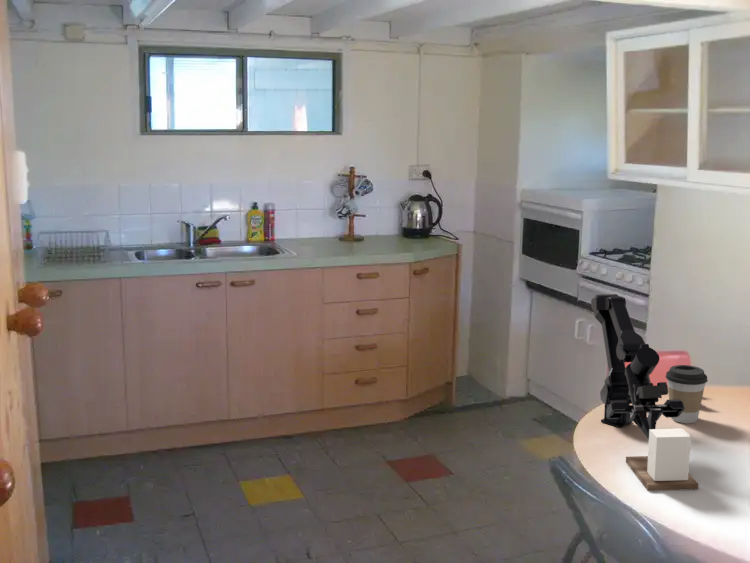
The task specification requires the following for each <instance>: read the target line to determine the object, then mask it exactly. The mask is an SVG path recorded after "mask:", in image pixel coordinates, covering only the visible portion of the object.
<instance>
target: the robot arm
mask: <svg viewBox="0 0 750 563" xmlns="http://www.w3.org/2000/svg"><path fill="white" fill-rule="evenodd" d="M590 303H591V304H590V306H591V309H592V311H593V313H594V318H595V319H596V320H597V321H598V322H599V323H600V325H601V330H602V335H603V342H604V348H605V349H604V350H605V354H606V362H607V363H606V364H607V368H608V373H607V375H606V377H605V379H604V385H603V386H602V388H601V390H600V393H599V394H600V400H601V402H602V403H603V404H604V410H603V411H604V412H603V413H604V414H603V415H604V417H603V418H602V419H601V420H600V422H601V423H603V424H604V423H605V424H608V425H610V426H614V427H617V428H622V427H624V426H627V425H628V424H631V423H634V424H636V426H637V427H638V428H639V429H640V430H641V432H642V433H643V435H644V436H645V437H646V438H647V440H648V441H649V429H656V428H657V427H656V426H657V422H658V421H659V419H660V417H661V416H663V417H665V418H666V419H667V418H668V419H669V418H670V419H671V417H679V416H680V414H681V413H682V412H683V411H684V409H685V407H684V403H683V402H682V401H681V400H680V399H674V400H669V399H666V400H665V402H664V403H663V404H656V403H658V402H659V400H660V399H662V398H663V396H666V395H669V392H668V382H664V381H661V382H657V384H656V385H654V383H653V382H651V379H650V375H651V374H652V373H653V372H654V371H655V368H656V367H657V366H658V364H659V362H660V354H658V352H657V351H656V350H655V349H653V348H651V347H650V345H649V343H645V340H644V338H643V337H642V335H640V334H639V333H637V332H636V330H635V328H634V324H633V323H632V320H631V317H630V313H629V312H628V309H627V300H626V297H624V296H620V295H618V294H616V293H611V294H610V293H609V294H608V293H607V294H600V293H599V294H595V295H594V297H593V298H591V301H590ZM625 363H629V364H627V366H626V365H625Z"/></svg>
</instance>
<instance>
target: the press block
mask: <svg viewBox="0 0 750 563" xmlns="http://www.w3.org/2000/svg"><path fill="white" fill-rule="evenodd" d="M691 437H692V436H691V435H690V434H689V433H688V432H686V431H685V429H683V428H655V429H649V440H648V451H647V452H648V453H647V456H648V465H647V472H648V474H649V475H650V476H651V477H652V479H653V480H654V481H676V480H688V473H690V471H689V470H690V469H689V468H690V455H691V454H690V453H691V441H692V440H691V439H692V438H691Z"/></svg>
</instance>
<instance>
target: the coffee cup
mask: <svg viewBox="0 0 750 563" xmlns="http://www.w3.org/2000/svg"><path fill="white" fill-rule="evenodd" d="M665 379H666V380H667V387H668V400H674V399H680V400H681V401H682V402H683V403H684V407H685V409H684V411H683V412H682V413H681V414H680V416H679V417H670V419H671V418H672V419H673V420H675V421H677V422H676V423H678V422H681V423H680V424H683V423H692V424H695V423H697V422H698V419H699V414H700V411H701V410H700V409H701V406H702V400H703V396H704V391H705V387H706V383H707V382H708V375H706V373H705V370H704V369H703V368H701V367H697V366H695V365H694V366H693V365H690V364H689V365H687V364H679V365H673V366H671V367H669V370H668V371H667V372H666V374H665ZM672 419H671V420H672ZM673 420H672V421H673ZM675 421H674V422H675Z"/></svg>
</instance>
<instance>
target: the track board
mask: <svg viewBox="0 0 750 563" xmlns="http://www.w3.org/2000/svg"><path fill="white" fill-rule="evenodd" d="M625 463H626V464H627V466H628V467H629V468H630V470H631V471H632V473H633V474H634V475H635V476H636V477H637V479H638V480H639V482H640V483H641V484H642V485H643V487H644V488H645V489H646V491H648V492H649V491H651V492H652V491H676V490H677V491H681V490H680V489H691V490H699V483H698V481H697V480H696V479H695V478H694V477H693V476H692V475H691V473H690V472H688V480H676V481H654V480H653V479H652V477H651V476H650V475H649V474H648V472H647V465H648V455H644V456H643V455H642V456H641V455H638V456H637V455H635V456H625Z"/></svg>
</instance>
